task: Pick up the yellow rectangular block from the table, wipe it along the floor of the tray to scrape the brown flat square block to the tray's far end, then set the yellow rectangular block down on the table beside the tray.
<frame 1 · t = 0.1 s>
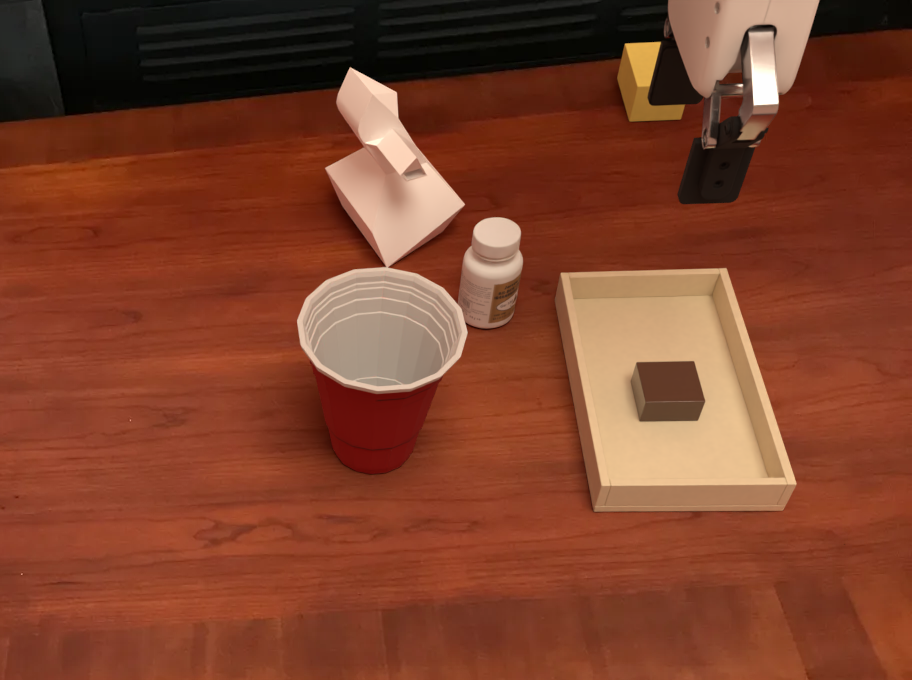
hand: (689, 149, 68), 20 cm above the table, tool pointing down, fingers open, 9 cm apart
plastic cup: (374, 448, 82), on the table
tray: (659, 396, 83), on the table
brown flat square block: (663, 401, 82), point 1 cm above the table, touching tray
pill bottle: (485, 313, 90), on the table
yellow rectangular block: (648, 98, 104), on the table
white faceted sculpture: (389, 219, 98), on the table
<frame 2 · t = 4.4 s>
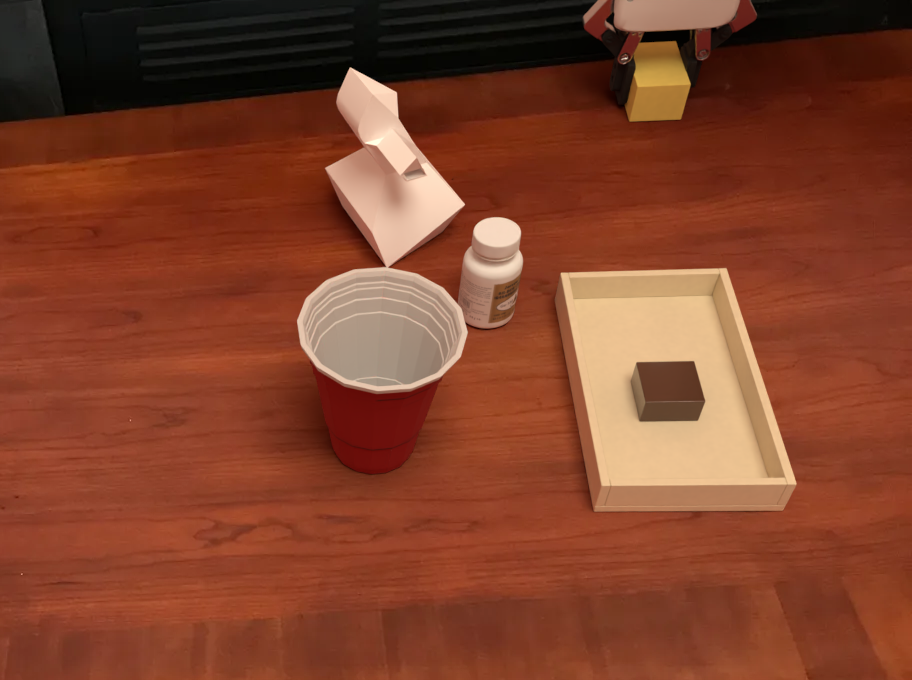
hand: (649, 93, 104), 1 cm above the table, tool pointing down, fingers closed on yellow rectangular block, 4 cm apart
yellow rectangular block: (648, 98, 104), on the table, touching gripper
everything else where it was.
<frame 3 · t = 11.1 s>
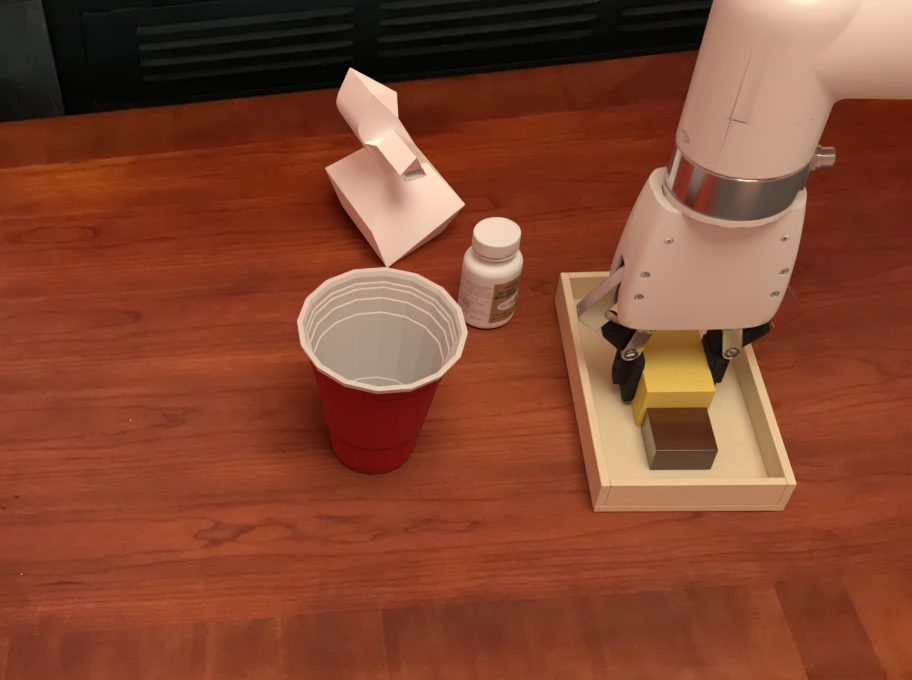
hand: (662, 385, 82), 1 cm above the table, tool pointing down, fingers closed on yellow rectangular block, 4 cm apart
brown flat square block: (674, 448, 79), point 1 cm above the table
yellow rectangular block: (660, 390, 82), point 1 cm above the table, touching gripper
everything else where it was.
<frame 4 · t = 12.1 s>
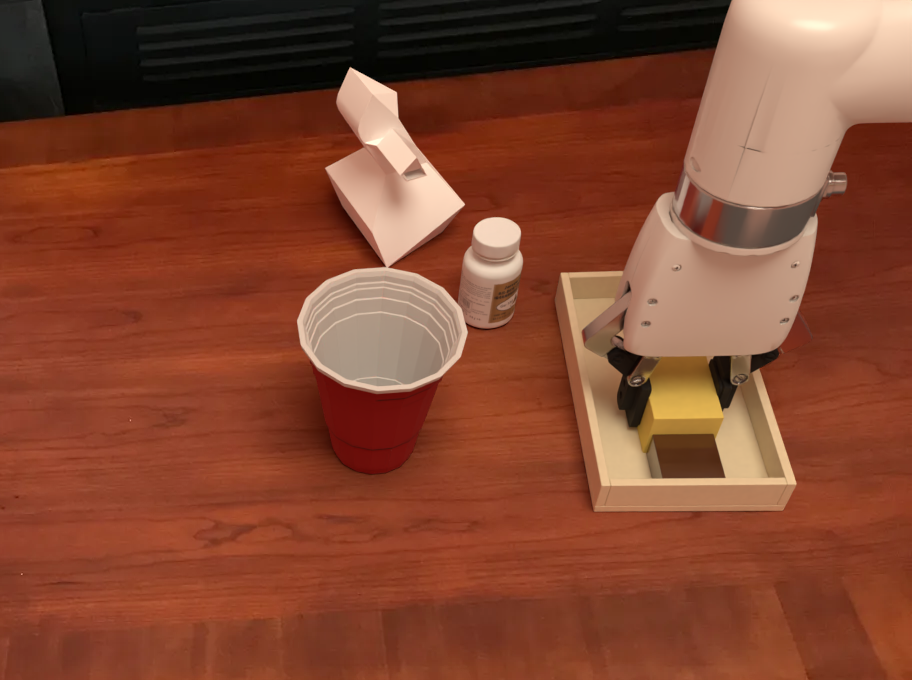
hand: (668, 410, 80), 1 cm above the table, tool pointing down, fingers closed on yellow rectangular block, 4 cm apart
brown flat square block: (681, 475, 78), point 1 cm above the table, touching tray
yellow rectangular block: (666, 415, 81), point 1 cm above the table, touching gripper
everything else where it was.
when the fingers open (0 cm above the table, at t = 18.9 s): yellow rectangular block stays where it is, on the table.
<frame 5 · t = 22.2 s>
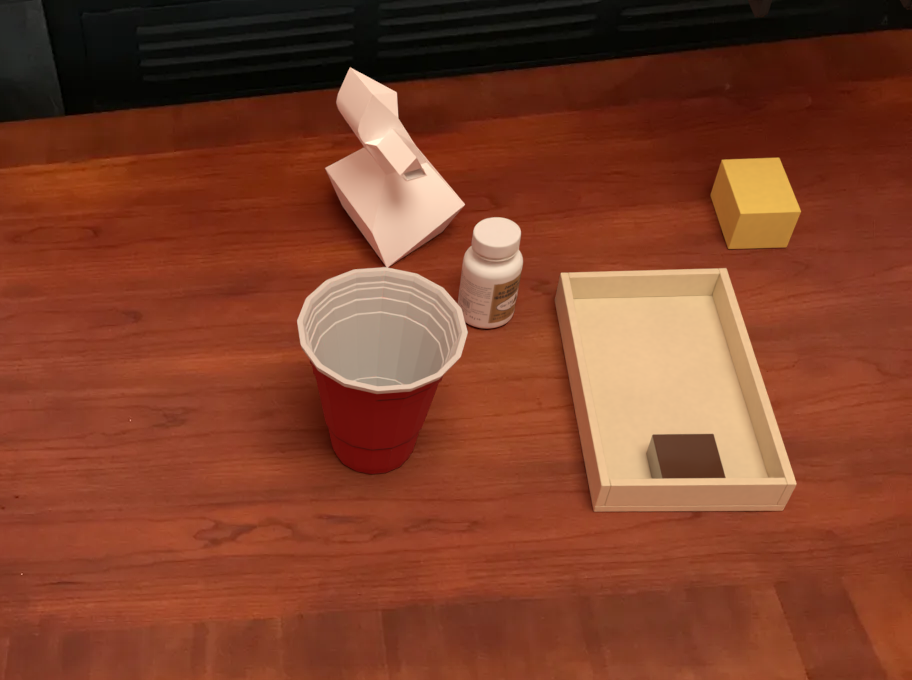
hand: (829, 3, 79), 18 cm above the table, tool pointing down, fingers open, 9 cm apart
yellow rectangular block: (747, 221, 93), on the table
everything else where it was.
at the end: brown flat square block inside the target area in the tray (0.2 cm from its centre), point 0.6 cm above the tray's base; yellow rectangular block inside the target area (0.2 cm from its centre), on the table; the gripper is holding nothing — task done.
